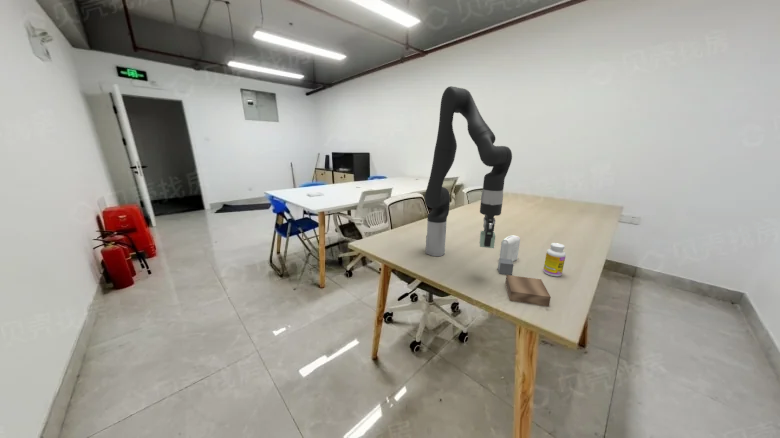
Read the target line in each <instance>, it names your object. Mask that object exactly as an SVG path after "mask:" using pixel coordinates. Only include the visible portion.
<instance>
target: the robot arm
mask: <svg viewBox="0 0 780 438" xmlns="http://www.w3.org/2000/svg"><path fill="white" fill-rule="evenodd" d="M455 113H457V114H460V115H462V116H463V118H464V119H465V120H466V123H467V131H468V135H469V136H470V138H471V140H472V141H473V142H474V145H475V146H476V148H477V152H478V155H479V158H480V160H481V162H482V164H483V165H485V167H488V168H490V167H491V168H492V169H491V171H490V172H488V173H486V174H485V175H484V177H483V185H482V192H481V197H480V206H479V213H480V214H481V215H484V217H483V231H485V241H484V246H485V247H484V248H486V247H490V245H491V238H492V237H493V232H495V226H496V225H495V224H496V219H495V216H496V217H497V216H501V215H502V207H503V199H504V188H505V187H504V186H505V179H506V176H507V174H508V171H509V170H510V167H511V164H512V160H513V153H512V150H511V149H510V147H508V146H506V145H495V142H496V135H495V133H494V132H493V130H492V129H491V128H490V126H489V125H488V124H487V122H486V121H485V120H484V118H483V117H482V115H481V112H480V111H479V109H478V106H477V105H476V102H475V99H474V98H473V96H472V94H471V92H470V91H469V90H468V89H466V88H462V87H457V86H448V87H446V88H445V89H444V91H443V93H442V97H441V101H440V107H439V120H438V121H439V122H438V129H437V136H436V143H435V146H434V152H433V159H432V165H431V170H430V176H429V179H428V184H427V186H426V190H425V194H424V201H425V204H426V206H427V207H428V208H430V209H431V211H429V213H428V214H427V222H426V223H427V224H426V225H427V226H426V237H425V254H426V255H429V256H433V257H441V256H442V257H443V255H445V254H446V240H447V239H446V238H447V220H448V217H449V216H448V215H449V213H450V204H451V196H450V191H449V189H447V188H446V187H444V186H443V185H444V181H445V178H446V177H447V175H448V173H449V172H450V169H451V168H452V166H453V164H454V162H455V158H456V154H457V147H458V145H457V140H456V135H455V132H454V127H453V123H454V122H453V121H454V114H455ZM488 232H489V233H491V234H487V233H488Z"/></svg>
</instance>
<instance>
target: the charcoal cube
mask: <svg viewBox="0 0 780 438" xmlns="http://www.w3.org/2000/svg"><path fill="white" fill-rule="evenodd" d="M497 270H498V275H505V276H506V275H511V276H513V270H514V261H513V262H512V260H511V259H502V258H500V257H499V258H498V264H497Z"/></svg>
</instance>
